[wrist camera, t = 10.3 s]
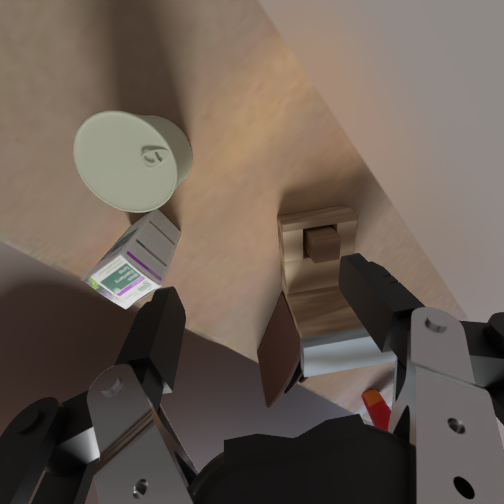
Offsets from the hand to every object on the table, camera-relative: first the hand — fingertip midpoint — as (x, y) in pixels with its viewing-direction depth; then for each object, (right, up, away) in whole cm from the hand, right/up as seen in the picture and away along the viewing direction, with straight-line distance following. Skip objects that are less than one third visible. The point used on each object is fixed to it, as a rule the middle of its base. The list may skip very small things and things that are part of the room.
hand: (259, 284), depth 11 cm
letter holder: (+8, -16, +41) cm, 44 cm away
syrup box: (-16, +5, +26) cm, 31 cm away
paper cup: (+38, -44, +61) cm, 84 cm away
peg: (+10, +5, +29) cm, 31 cm away
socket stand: (+11, +2, +31) cm, 33 cm away
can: (-13, +15, +20) cm, 29 cm away
